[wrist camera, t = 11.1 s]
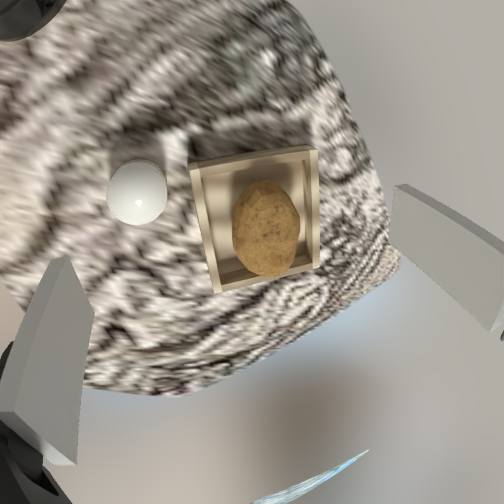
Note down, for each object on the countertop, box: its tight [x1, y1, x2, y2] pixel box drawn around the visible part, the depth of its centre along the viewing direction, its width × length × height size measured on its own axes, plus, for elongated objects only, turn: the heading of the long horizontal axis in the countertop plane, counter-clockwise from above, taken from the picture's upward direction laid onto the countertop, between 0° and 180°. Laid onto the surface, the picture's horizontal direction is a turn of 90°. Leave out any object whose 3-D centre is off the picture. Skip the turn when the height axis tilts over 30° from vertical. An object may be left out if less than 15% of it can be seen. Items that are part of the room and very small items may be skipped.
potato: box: [232, 180, 300, 277], centre depth 43 cm, size 10×14×8 cm
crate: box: [188, 144, 320, 293], centre depth 46 cm, size 19×17×4 cm
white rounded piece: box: [106, 159, 167, 225], centre depth 39 cm, size 8×8×4 cm
